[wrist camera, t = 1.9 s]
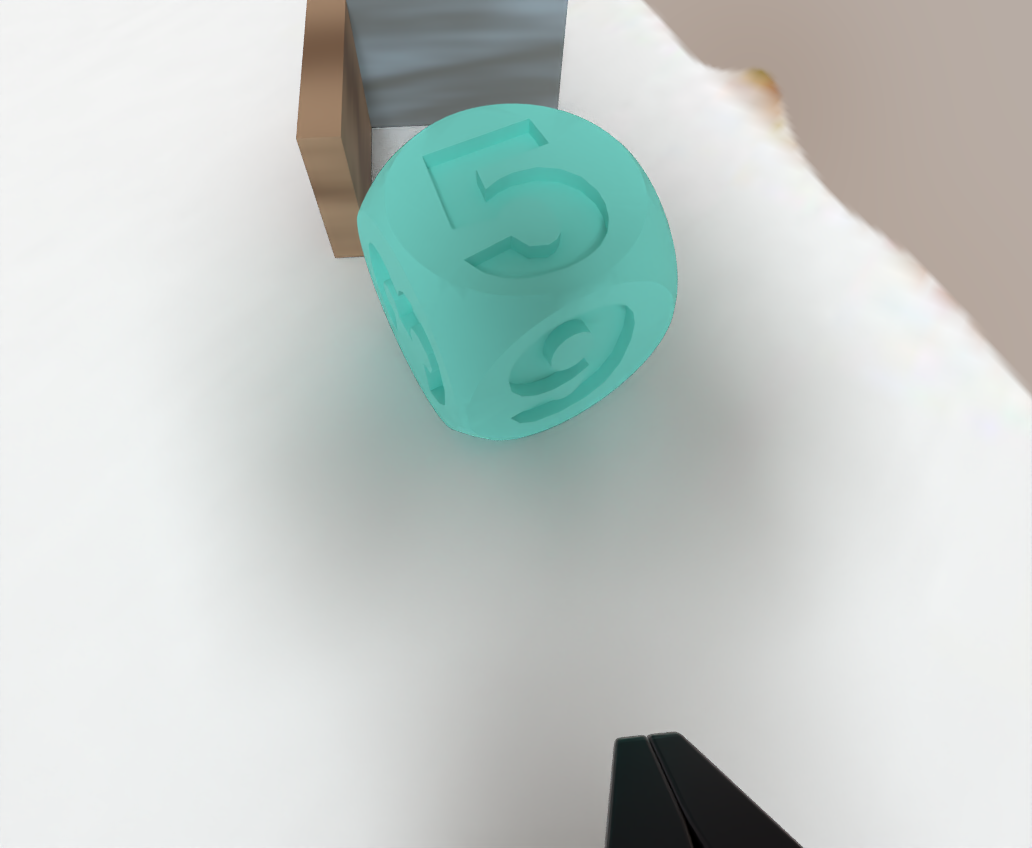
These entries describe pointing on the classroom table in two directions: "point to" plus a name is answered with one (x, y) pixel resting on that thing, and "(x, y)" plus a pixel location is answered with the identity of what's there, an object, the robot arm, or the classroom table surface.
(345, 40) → the corner arena
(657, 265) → the decorative dice
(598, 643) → the classroom table surface
